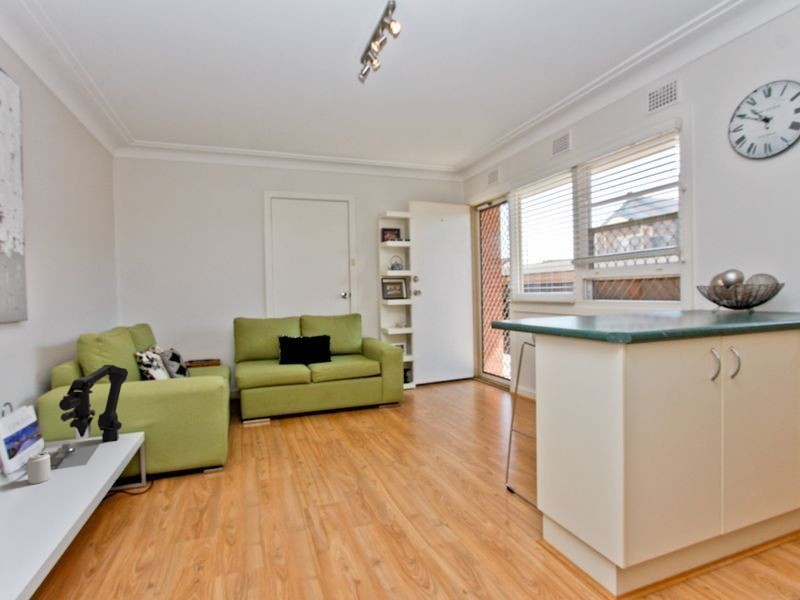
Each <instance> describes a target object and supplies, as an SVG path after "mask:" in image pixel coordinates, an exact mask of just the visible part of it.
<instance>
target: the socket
mask: <svg viewBox="0 0 800 600" xmlns="http://www.w3.org/2000/svg"><path fill="white" fill-rule="evenodd" d="M90 436H92V424H90V425H88V426H87V429H86V431H85V434H84V436H83V437H80V434H79V432H78V430H77V428H76V429H75V440H84V439H89V438H90Z"/></svg>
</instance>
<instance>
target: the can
mask: <svg viewBox="0 0 800 600" xmlns="http://www.w3.org/2000/svg"><path fill="white" fill-rule="evenodd" d="M50 458H51V455H50V454H49V452H48V451H39V452H36V453H32V454H30V455H29V456H28V459H27V460H26V463H27V480H28V484H31V485H34V484H35V485H37V484H42V483H44V482H46V481H48V480H50V479H51V477H52V472H51V471H52V470H51V467H50Z"/></svg>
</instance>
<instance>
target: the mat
mask: <svg viewBox="0 0 800 600" xmlns="http://www.w3.org/2000/svg"><path fill="white" fill-rule="evenodd" d="M101 444H102V443H101V442H98V443H92V444H91V443H90V444H84V445H83V444H82V445H74V446H75V451H74V452H73V453H70V454H68V455H67V456H66V457H65V458H64V460H63V462H62V463H61V464H60V465H59V466H58V468H57V469H54V470H59V469H60V470H61V469H68V468H73V467H75V468H76V467H80V466H86V465H87V464H88V462H89V461H90V460H91V458H92V457H93V455H94V453H96V451H97V449H98V448H99V446H100V445H101ZM57 455H58V454H57V450H56V451H55V452H54V453H53V454H52V455H51V456H50V461H51V460H52V458H55V457H56V456H57Z"/></svg>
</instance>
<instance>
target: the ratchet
mask: <svg viewBox="0 0 800 600" xmlns="http://www.w3.org/2000/svg"><path fill="white" fill-rule="evenodd" d="M75 446H76V445H71V444H70V441H69V442H63V443H62V447H59V448H57V449H56V451H57V454H58V455H57V456H56V457H55V458H52V460H51V461H50V467H51V471H52V470H54V469H55V470H58V469H57V468H58V466H59V465H60V464H61V463H62V462H63V460H64V458H65V457H66V456H67V455H68V454H70V453H73V452H74V451H75Z"/></svg>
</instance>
